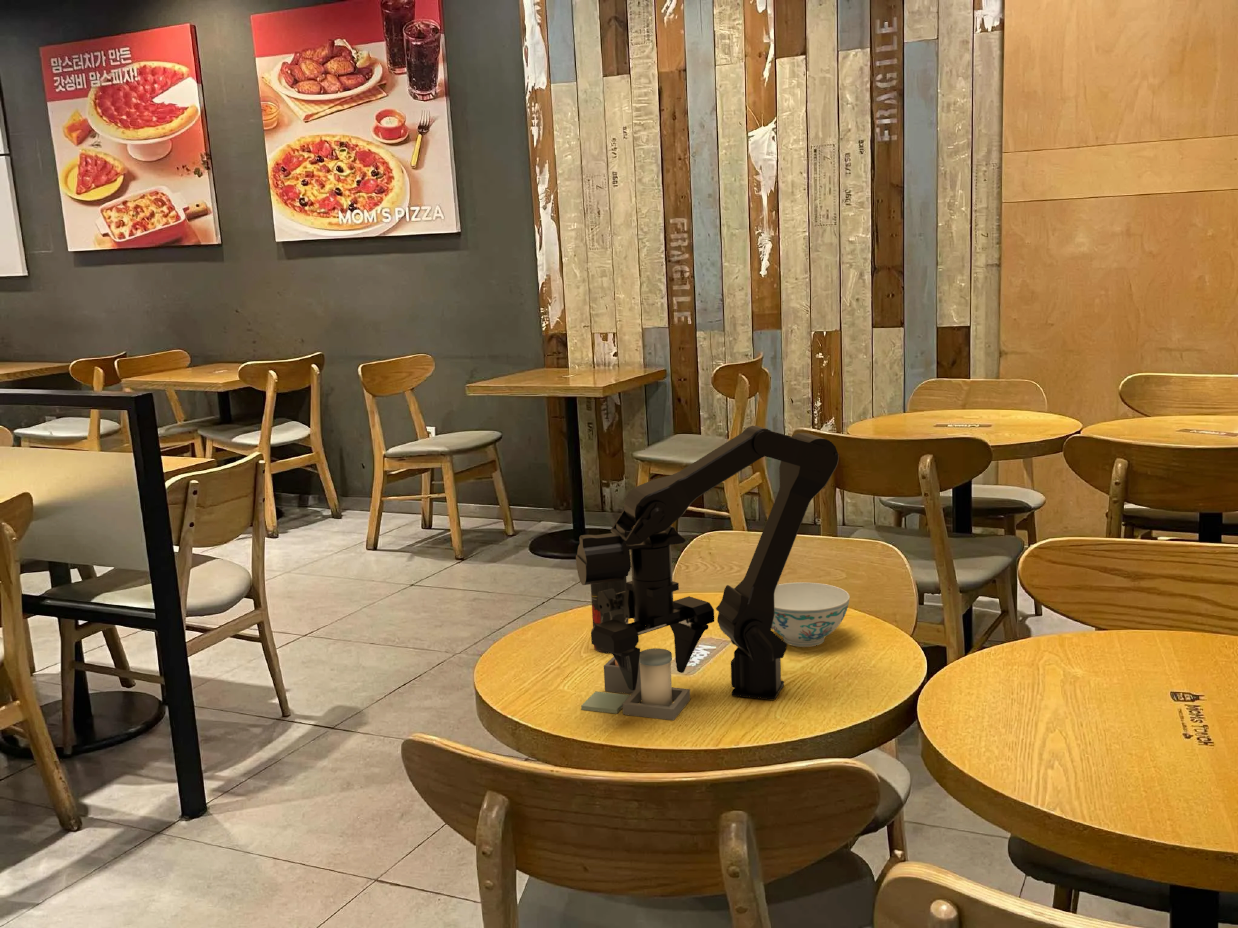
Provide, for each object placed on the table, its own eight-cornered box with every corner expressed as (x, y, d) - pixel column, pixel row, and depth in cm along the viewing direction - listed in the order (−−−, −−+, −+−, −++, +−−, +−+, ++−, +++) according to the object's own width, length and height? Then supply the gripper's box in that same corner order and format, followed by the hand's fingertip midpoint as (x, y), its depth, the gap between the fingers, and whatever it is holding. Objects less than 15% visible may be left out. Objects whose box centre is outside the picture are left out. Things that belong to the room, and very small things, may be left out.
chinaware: (756, 655, 177) (755, 609, 175) (760, 624, 191) (759, 581, 190) (851, 656, 174) (851, 610, 173) (848, 625, 189) (847, 582, 187)
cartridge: (678, 702, 160) (676, 649, 158) (667, 715, 155) (665, 661, 154) (647, 698, 161) (644, 646, 160) (635, 711, 157) (633, 658, 155)
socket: (690, 699, 160) (689, 688, 160) (673, 720, 153) (673, 709, 153) (641, 694, 163) (640, 683, 163) (623, 714, 156) (622, 703, 156)
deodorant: (629, 652, 180) (625, 564, 178) (593, 654, 181) (588, 565, 178) (629, 640, 186) (625, 554, 184) (594, 641, 186) (590, 556, 184)
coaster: (630, 698, 162) (630, 694, 161) (616, 713, 157) (616, 709, 156) (595, 695, 164) (595, 691, 163) (581, 709, 158) (581, 705, 158)
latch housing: (647, 681, 168) (646, 657, 167) (636, 694, 163) (635, 668, 162) (617, 678, 169) (615, 654, 169) (604, 691, 165) (603, 665, 164)
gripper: (664, 552, 167) (668, 650, 169) (564, 578, 155) (570, 683, 158) (715, 565, 158) (718, 668, 161) (613, 595, 147) (619, 705, 149)
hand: (656, 680), depth 158 cm, fingers open, 9 cm apart
